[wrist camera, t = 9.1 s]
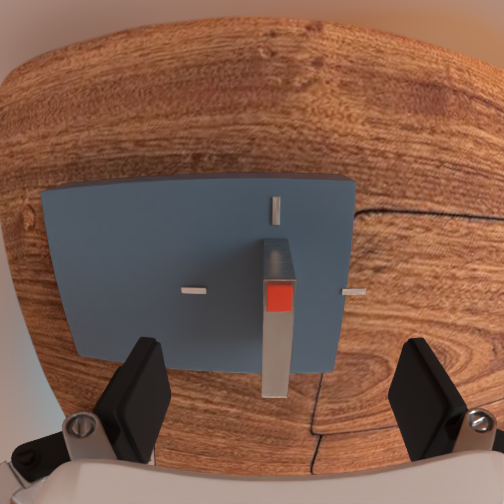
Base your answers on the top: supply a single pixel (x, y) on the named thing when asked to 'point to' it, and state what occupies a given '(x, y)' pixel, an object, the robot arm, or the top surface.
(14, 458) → the robot arm
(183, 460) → the top surface
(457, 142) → the top surface
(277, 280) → the lever
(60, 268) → the blue-grey rectangular block
